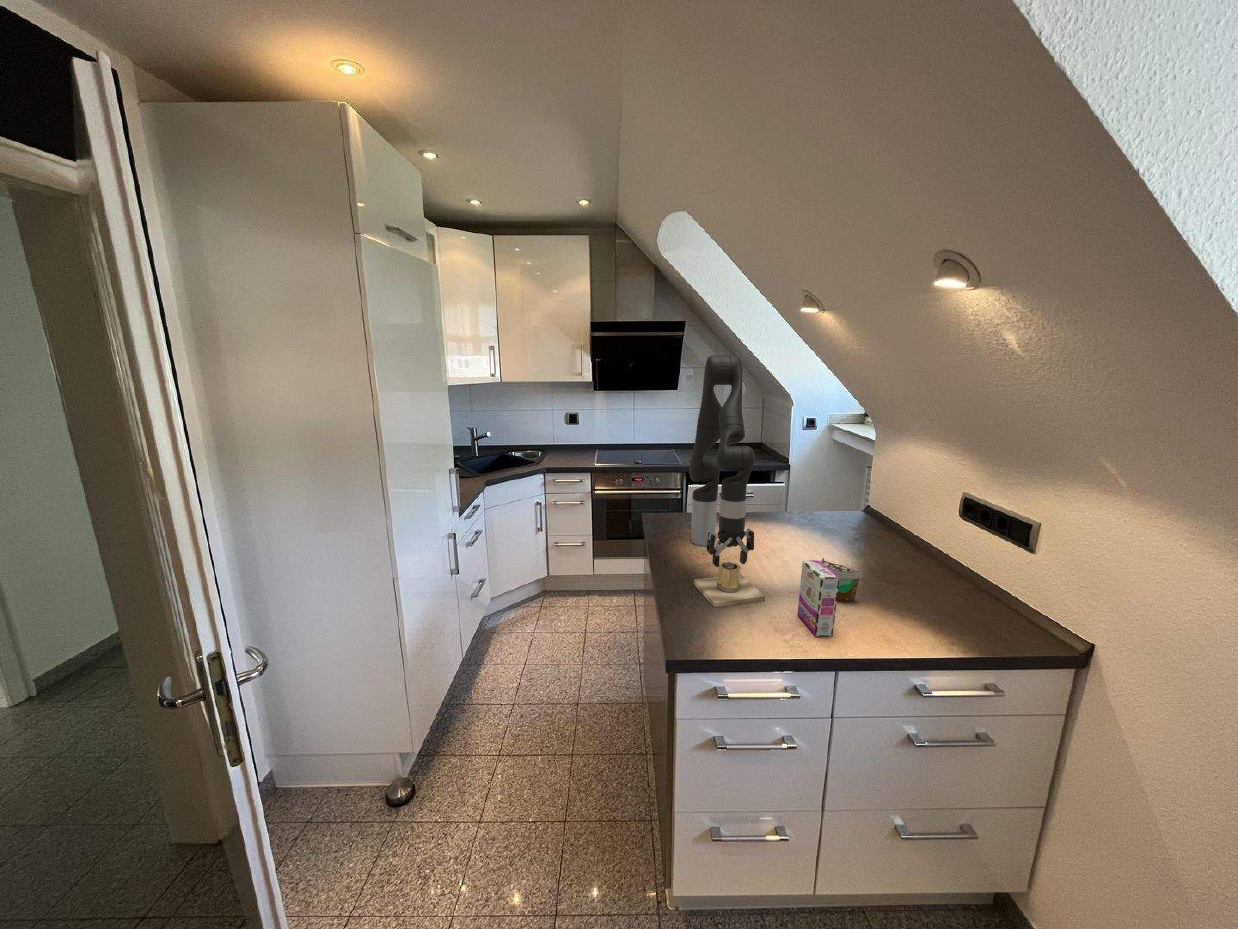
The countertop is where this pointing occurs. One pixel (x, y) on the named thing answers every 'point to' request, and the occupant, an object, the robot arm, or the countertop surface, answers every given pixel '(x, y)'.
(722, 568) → the collar
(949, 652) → the countertop surface
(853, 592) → the food container
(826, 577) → the candy bar box
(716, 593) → the board
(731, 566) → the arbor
